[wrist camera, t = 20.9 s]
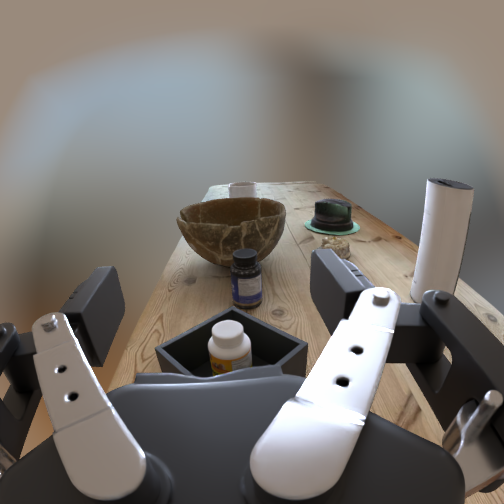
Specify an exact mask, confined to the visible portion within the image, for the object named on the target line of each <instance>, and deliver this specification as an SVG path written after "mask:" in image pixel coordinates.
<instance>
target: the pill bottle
mask: <svg viewBox="0 0 504 504" xmlns="http://www.w3.org/2000/svg"><path fill="white" fill-rule="evenodd" d="M256 260H257V252H256V251H255V250H253V249H239V250H236V251H234V252H233V261H234V263H233V264H232V265H231V267H230V273H231V285H232V296H233V303H234V304H235V305H236V306H237V307H239V308H242V309H251V308H255V307H257V306H259V305H260V304H261V302H262V275H261V265H260V264H259V262H257V261H256Z"/></svg>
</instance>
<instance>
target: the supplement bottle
mask: <svg viewBox="0 0 504 504" xmlns="http://www.w3.org/2000/svg"><path fill="white" fill-rule="evenodd" d="M208 350H209V356H210V361H211V367H212V373H213V376H216V375H220V374H224V373H228V372H232V371H235V370H239V369H243V368H250V367H252V355H251V342H250V339H249V337H248V336H247V335H246V334H245V333H244V332H243V326H242V325H241V324H240V323H239V322H237V321H233V320H225V321H221V322H218V323H217V324H215V325H214V326H213V328H212V337H211V338H210V340H209V342H208Z"/></svg>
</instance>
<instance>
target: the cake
mask: <svg viewBox="0 0 504 504" xmlns="http://www.w3.org/2000/svg"><path fill="white" fill-rule="evenodd" d="M319 249H332V250H333V251H334V252H335V254H336V255H337V256H338V257H339V258H340V259H347V258H349V257H350V255H351V254H350V251H349V243H348V242H347V241H345V240H343V239H340V238H338V237H337V238H336V237H333V238H332V237H327V238H326V237H325V238H324V239H322V245H321V247H319V248H317V249H316V250H319Z"/></svg>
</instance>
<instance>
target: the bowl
mask: <svg viewBox="0 0 504 504" xmlns="http://www.w3.org/2000/svg"><path fill="white" fill-rule="evenodd" d="M180 215H181V218H182V219H181V218H179V217H177V219H176V220H177V224H178V226H179V229H180V230H181V232H182V234H183V236H184V238H185V240H186V241H187V243H188V244H189V246H190V247H191V248H192V249H193V250H194V251H195V252H196V253H197V254H199V255H200V256H201V257H202V258H204V259H206V260H207V261H209V262H211V263H214V264H219V265H223V266H227V267H231V265H232V264H233V263H234V261H233V252H234V251H236V250H239V249H253V250H255V251H256V252H257V260H256V261H257V262H259V261H261V260H263V259H264V258H265V257H266V256H268V255H269V254H270V253H271V251H272V250H273V249H274V248H275V246H276V245H277V243H278V241H279V239H280V238H281V236H282V233H283V230H284V225H285V217H286V210H285V207H284V205H283V204H282V203H280V202H277V201H274V200H270V199H266V198H261V199H260V198H255V197H238V198H224V199H216V200H210V201H206V202H201V203H198V204H193V205H190V206H187V207H185V208H183V209H182V210H181V211H180Z"/></svg>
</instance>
